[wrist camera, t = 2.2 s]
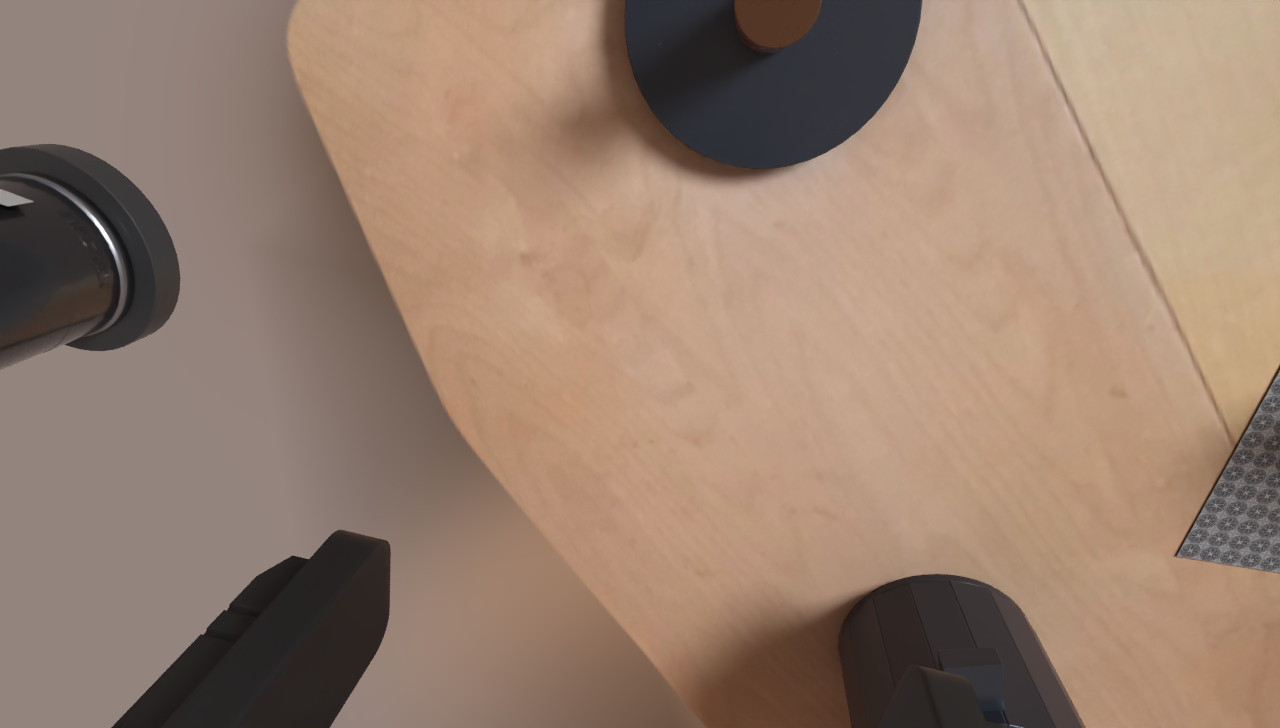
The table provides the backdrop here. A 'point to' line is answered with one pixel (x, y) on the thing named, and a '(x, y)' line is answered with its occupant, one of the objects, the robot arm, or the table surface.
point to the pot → (951, 651)
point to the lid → (768, 71)
